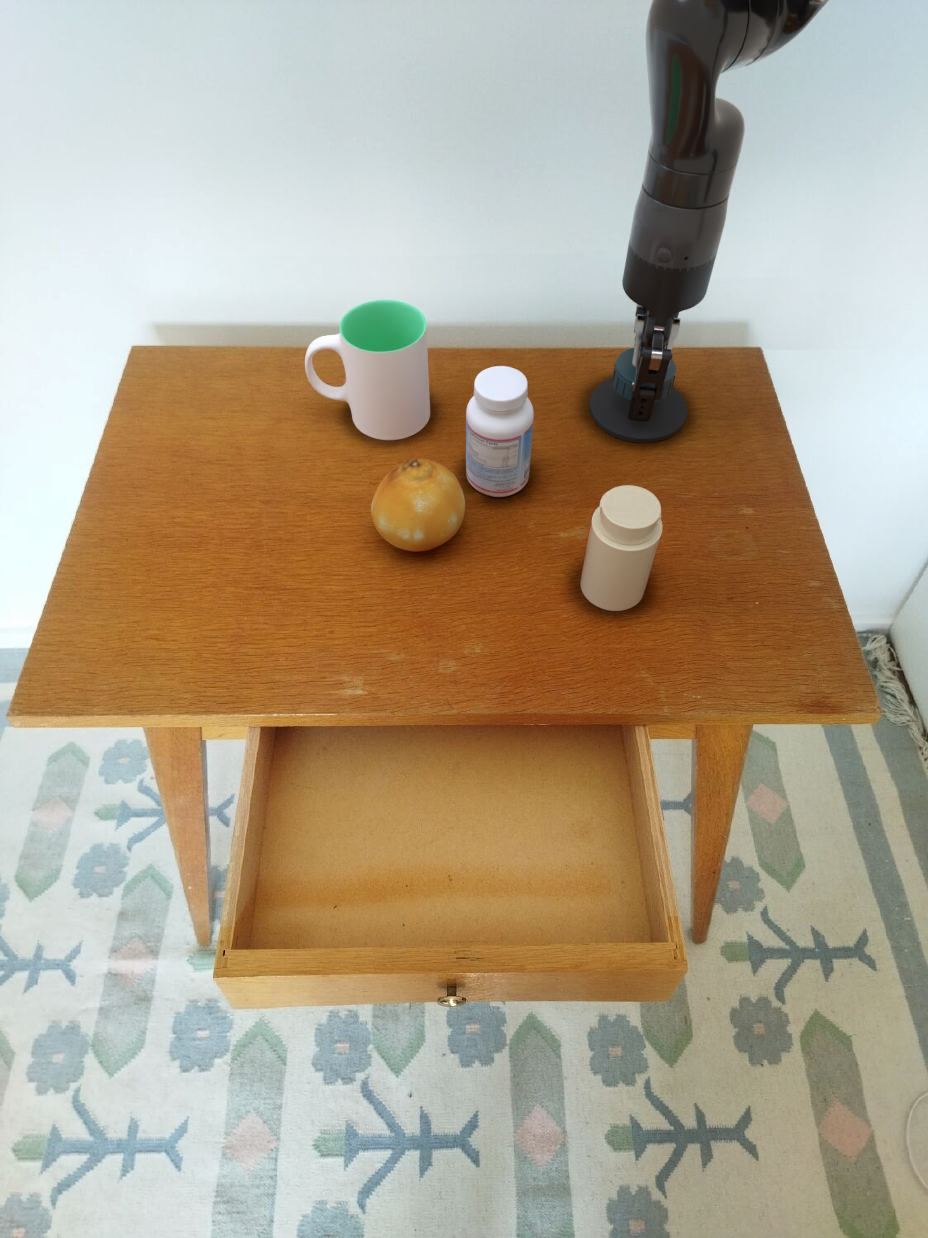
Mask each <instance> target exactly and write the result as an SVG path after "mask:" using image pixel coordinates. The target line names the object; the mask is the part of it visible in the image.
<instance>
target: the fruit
mask: <svg viewBox="0 0 928 1238" xmlns="http://www.w3.org/2000/svg"><path fill="white" fill-rule="evenodd" d="M465 513H466V499H465V494H464V491H463V488H462V487H461V484H460V482H459V480H458V479H457V477H456V475H455V474H454V473H453V472H452V471H451V470H450V469H448V468H447V467H446V466H445V465H443V464H441V463H439V462H437V461H435V460H432V459H428V458H423V457H412V458H409V459H406V460H404V461H403V462H401V463H399V464H397V465H396V466H395V467H393V468H392V469H391V470H390V471H388V473H387V474H385V476H384V477H383V478H382V479H381V481H380V483H379V484H378V486H377V488H376V490H375V492H374V494H373V497H372V501H371V506H370V515H371V520H372V524H373V525H374V528H375V529H376V531H377V532H378V534H379V535H380V537H381V538H382V539H384V541H386V542H387V543H388V544H390V545H392V546H393V547H395V548H398V549H401V550H403V551H407V552H425V551H430V550H433V549H435V548H439V547H440V546H442V545H444V544H445V543H447V542H448V541H450V540H451V539H452V538H453V537H455V535H456V534H457V533H458V532H459V530H460V528H461V525H462V524H463V522H464V518H465Z"/></svg>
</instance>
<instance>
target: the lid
mask: <svg viewBox="0 0 928 1238" xmlns="http://www.w3.org/2000/svg"><path fill="white" fill-rule="evenodd" d="M633 350H634V347H631V348H628V349H626V350H624V351H622V352H621V353H620V354H619V355H618V356H617V358H616V359H615V360H616V361H615V363H614V365H613V371H612V378H613V381H612V384H613V386H614V389H615V390H616V391H617V393H618V394H619V395H621V396H622V397H624V398H625V399H628V400H630V401H631V396H632V389H633V387H632V382H634V376H635V370H636V367H635V366H634V365H633V363H632V356H633ZM641 351H643V350H641V347H640V353H639V354H640V355H641ZM676 372H677V366H676V363H675V360H674V359H673V358H672V359H671V360H670V364H669V367H668V370H667V373H666V377H665V381H664V384H663V388H662V395H661V397H660V399H659V400H655V401H654V402H658V401H660V400H662V399H664V398H665V397H667V396H668V395H669V393H670V391H671V390H672V387H674V383H675V379H676Z"/></svg>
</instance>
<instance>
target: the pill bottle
mask: <svg viewBox="0 0 928 1238" xmlns="http://www.w3.org/2000/svg"><path fill="white" fill-rule="evenodd" d="M473 386H474V388H473V396H472V397H471V398H470V400H469V402H467V406H466V411H465V412H466V413H465V475H466V479H467V481H468V483H469V484H470V485H471V487H473V489H474V490H476V491H478V492H480V493H481V494H483V495H486V496H489V497H492V498H493V497H494V498H503V497H508V496H511V495H512V496H513V495H514V494H516V493H518V492H519V491H521V490H522V489H523V488H524V487H525V486H526V484H528V481H529V478H530V472H531V471H530V470H531V457H532V446H533V433H534V420H535V419H534V418H535V417H534V416H535V415H534V412H535V411H534V406H533V404H532V402H531V400H530V398H529V397H528V394H529V393H528V392H529V391H528V389H529V387H528V386H529V383H528V379H527V377H526V375H525V374H524V373H523V372H522V371H520V370H519V369H516V368H514V367H511V366H507V365H496V366H491V367H487V368H485V369H483V370H481V371H480V372H479V373H478V374H477V376H476V377H475V379H474V383H473Z"/></svg>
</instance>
